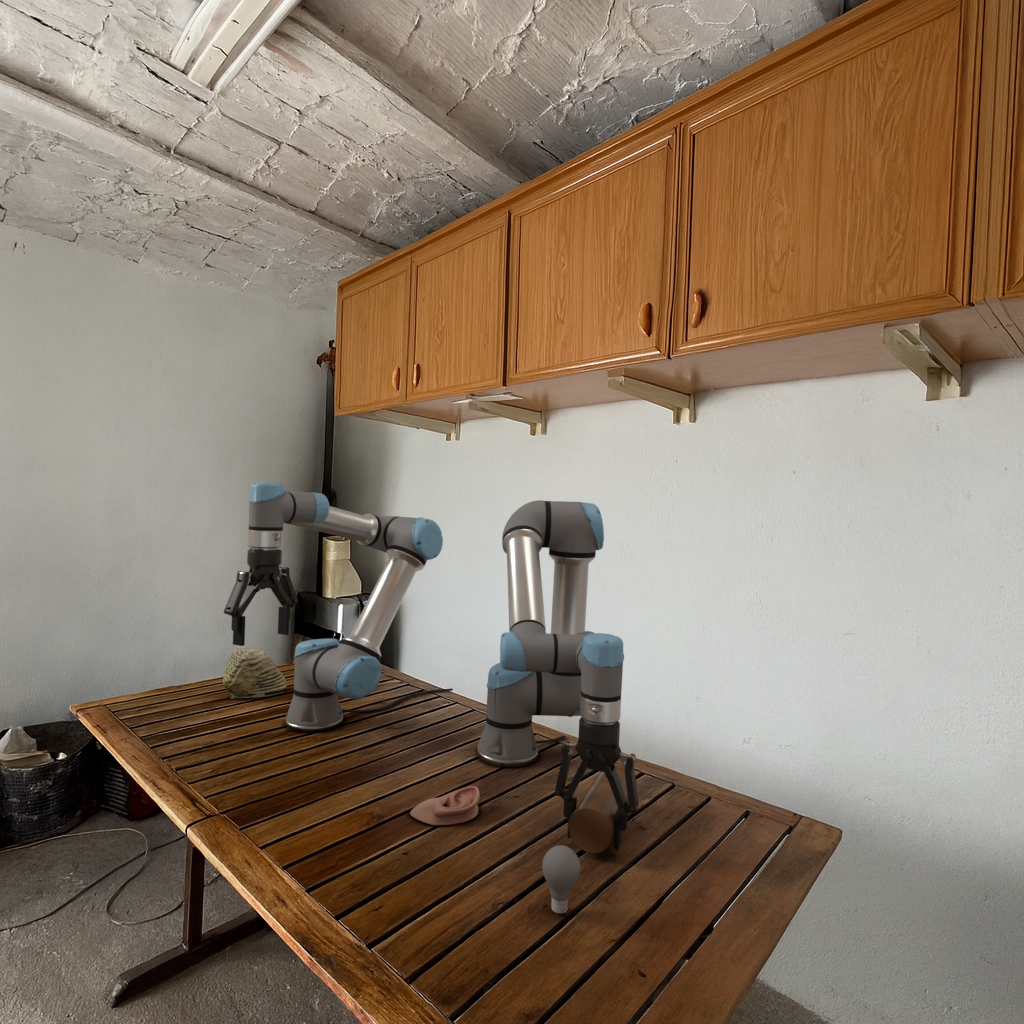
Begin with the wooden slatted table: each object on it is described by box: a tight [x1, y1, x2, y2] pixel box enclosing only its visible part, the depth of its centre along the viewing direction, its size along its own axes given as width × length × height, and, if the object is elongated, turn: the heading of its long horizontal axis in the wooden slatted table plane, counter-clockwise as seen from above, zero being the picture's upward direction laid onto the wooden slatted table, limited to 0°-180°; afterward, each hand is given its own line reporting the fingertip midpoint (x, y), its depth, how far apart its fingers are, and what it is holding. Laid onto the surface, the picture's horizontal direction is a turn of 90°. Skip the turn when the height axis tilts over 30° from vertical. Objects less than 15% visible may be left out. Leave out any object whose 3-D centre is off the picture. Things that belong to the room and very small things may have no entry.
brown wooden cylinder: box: [569, 762, 638, 854], centre depth 125 cm, size 22×8×8 cm, turn 158°
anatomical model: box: [409, 785, 481, 826], centre depth 129 cm, size 13×4×12 cm
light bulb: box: [541, 844, 581, 914], centre depth 99 cm, size 6×6×10 cm
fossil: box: [222, 646, 288, 699], centre depth 198 cm, size 9×18×15 cm, turn 132°
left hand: (261, 639), depth 148 cm, fingers open, 13 cm apart
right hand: (593, 840), depth 118 cm, fingers closed on brown wooden cylinder, 8 cm apart
